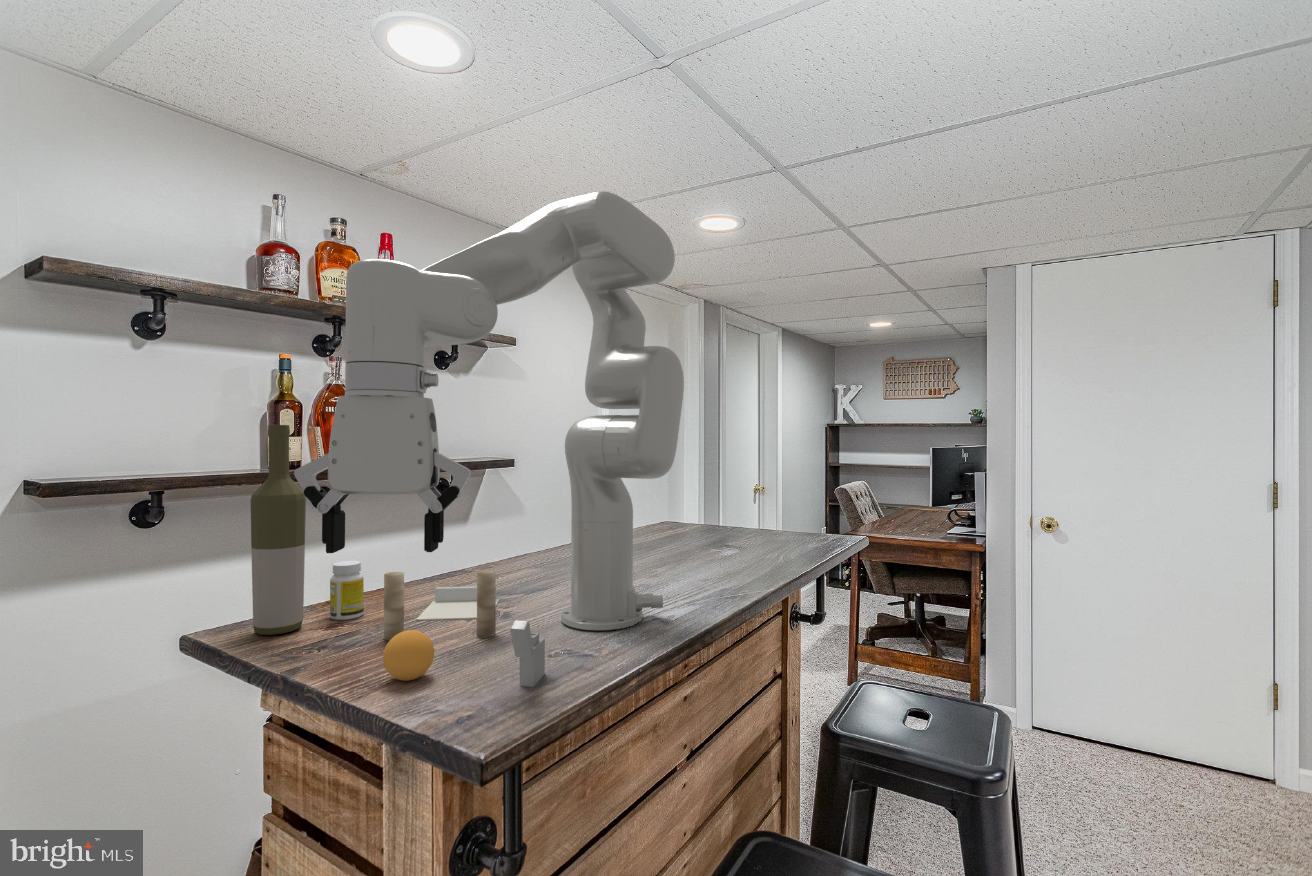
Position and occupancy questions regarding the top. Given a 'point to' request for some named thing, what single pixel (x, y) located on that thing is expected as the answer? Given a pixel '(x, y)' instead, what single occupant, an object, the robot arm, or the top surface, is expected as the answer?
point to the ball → (408, 655)
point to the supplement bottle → (346, 591)
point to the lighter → (528, 653)
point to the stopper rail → (456, 594)
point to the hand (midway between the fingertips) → (383, 550)
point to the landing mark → (450, 610)
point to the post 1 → (393, 604)
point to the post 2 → (486, 603)
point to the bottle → (278, 543)
